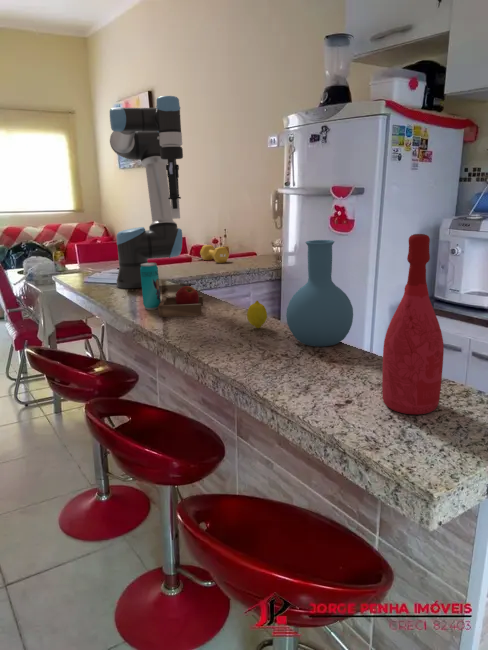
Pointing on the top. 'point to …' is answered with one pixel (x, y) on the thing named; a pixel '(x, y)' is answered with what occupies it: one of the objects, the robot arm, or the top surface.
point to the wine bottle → (413, 342)
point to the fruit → (257, 314)
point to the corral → (179, 308)
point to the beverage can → (150, 285)
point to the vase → (319, 302)
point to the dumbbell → (214, 253)
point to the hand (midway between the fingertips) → (176, 218)
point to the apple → (187, 296)
